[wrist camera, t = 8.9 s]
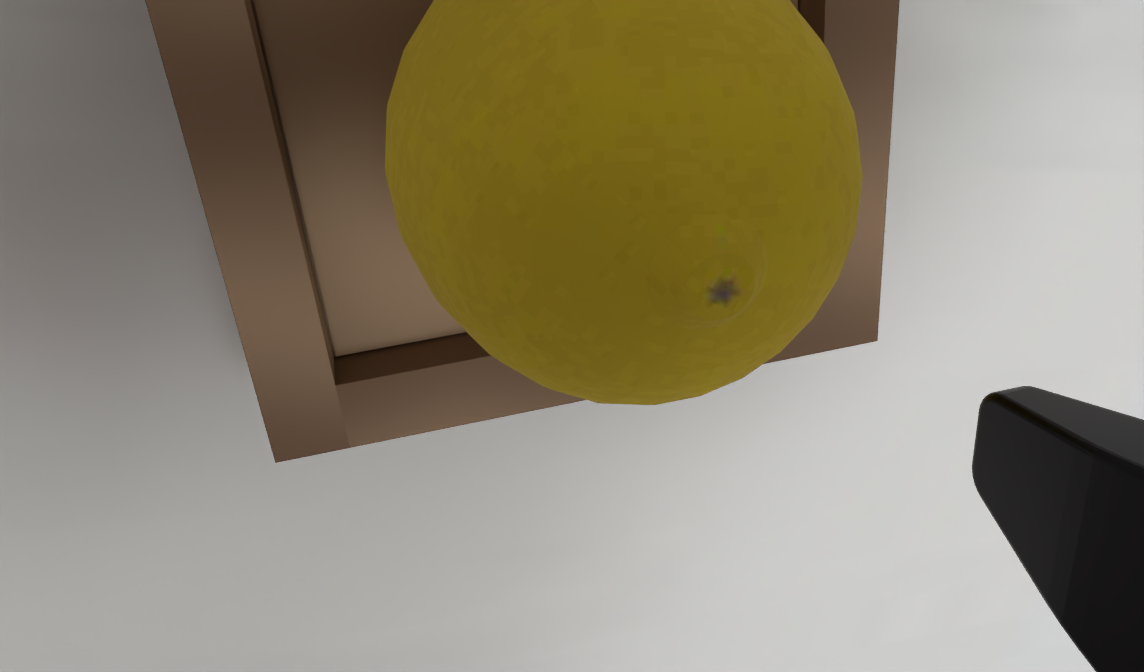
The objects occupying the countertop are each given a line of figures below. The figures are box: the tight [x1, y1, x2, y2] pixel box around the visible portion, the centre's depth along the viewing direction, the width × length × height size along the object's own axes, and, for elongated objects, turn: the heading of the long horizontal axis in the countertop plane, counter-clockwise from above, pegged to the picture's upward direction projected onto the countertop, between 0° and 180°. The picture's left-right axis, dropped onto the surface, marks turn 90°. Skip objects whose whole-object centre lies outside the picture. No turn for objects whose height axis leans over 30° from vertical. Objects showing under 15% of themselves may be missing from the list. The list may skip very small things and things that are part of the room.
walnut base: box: [145, 0, 899, 463], centre depth 17 cm, size 11×11×4 cm
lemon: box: [385, 0, 863, 405], centre depth 13 cm, size 6×6×8 cm
